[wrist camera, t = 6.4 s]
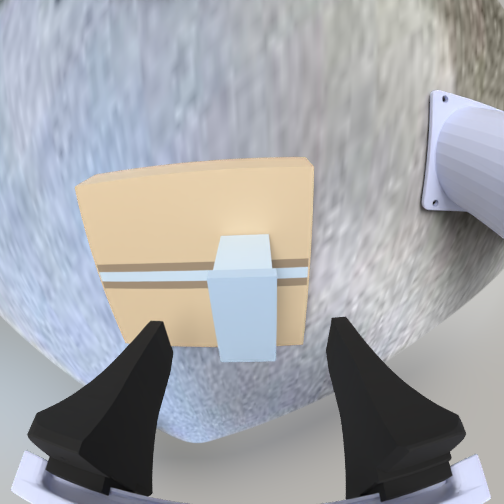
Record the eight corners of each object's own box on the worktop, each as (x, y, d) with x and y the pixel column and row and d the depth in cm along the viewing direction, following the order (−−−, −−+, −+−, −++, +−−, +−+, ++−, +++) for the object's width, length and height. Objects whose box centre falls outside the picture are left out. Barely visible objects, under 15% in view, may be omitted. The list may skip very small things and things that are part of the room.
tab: (271, 232, 15) (277, 276, 12) (272, 310, 18) (275, 361, 14) (217, 234, 15) (206, 278, 12) (226, 311, 18) (220, 362, 14)
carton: (305, 157, 16) (313, 166, 14) (298, 319, 22) (302, 344, 19) (95, 174, 16) (74, 186, 14) (135, 320, 22) (125, 343, 20)
